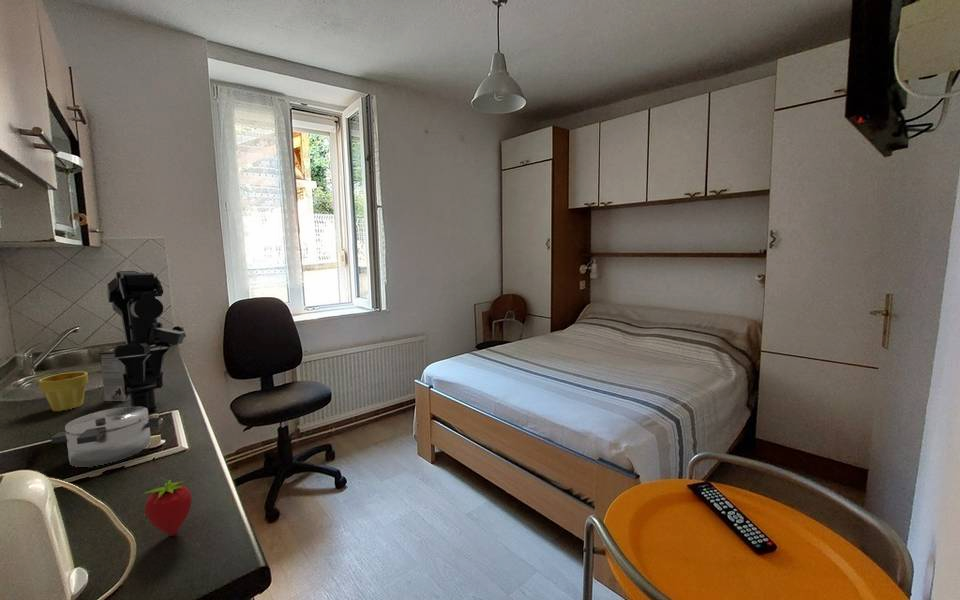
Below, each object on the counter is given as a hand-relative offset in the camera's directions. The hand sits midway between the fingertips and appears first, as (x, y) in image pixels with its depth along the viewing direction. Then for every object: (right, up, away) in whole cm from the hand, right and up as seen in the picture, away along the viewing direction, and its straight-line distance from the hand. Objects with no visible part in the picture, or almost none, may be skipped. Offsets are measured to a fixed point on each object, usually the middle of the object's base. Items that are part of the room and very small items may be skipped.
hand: (149, 378), depth 108 cm
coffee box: (-28, -11, +24) cm, 38 cm away
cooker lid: (+4, -7, -17) cm, 19 cm away
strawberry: (+39, -17, -43) cm, 60 cm away
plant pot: (-38, -12, +16) cm, 43 cm away
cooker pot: (+3, -14, -14) cm, 20 cm away
